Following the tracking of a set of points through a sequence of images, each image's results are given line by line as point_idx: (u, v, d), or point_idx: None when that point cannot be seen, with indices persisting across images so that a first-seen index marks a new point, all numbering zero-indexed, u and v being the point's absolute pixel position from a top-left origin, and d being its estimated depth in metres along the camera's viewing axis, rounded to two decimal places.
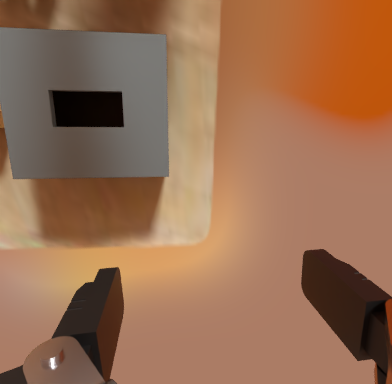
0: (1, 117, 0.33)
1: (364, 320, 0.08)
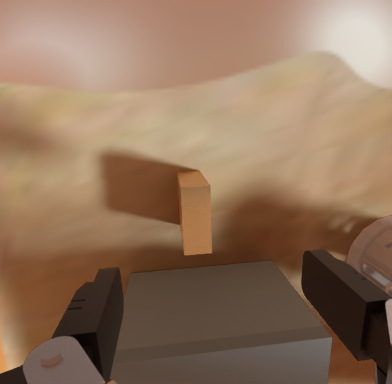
0: None
1: (364, 320, 0.08)
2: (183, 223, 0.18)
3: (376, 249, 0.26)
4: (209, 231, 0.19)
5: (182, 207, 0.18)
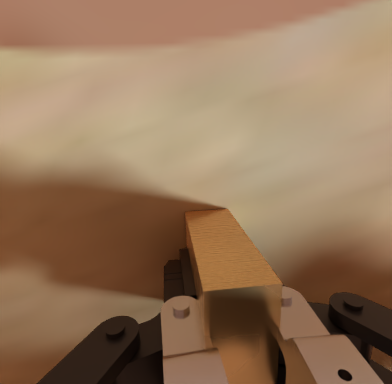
0: None
1: None
2: None
3: None
4: None
5: None
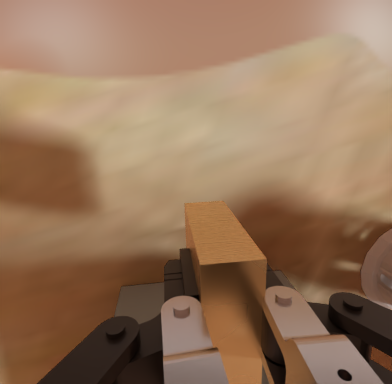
0: None
1: None
2: None
3: None
4: (259, 350, 0.09)
5: (202, 305, 0.08)
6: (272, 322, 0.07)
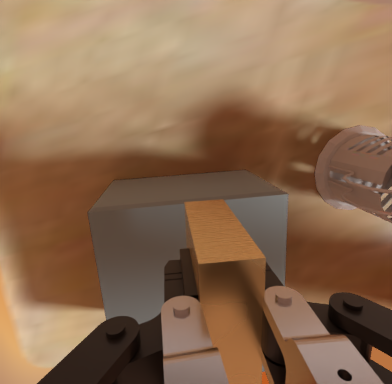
0: None
1: None
2: None
3: (340, 154, 0.28)
4: (258, 349, 0.09)
5: (201, 304, 0.08)
6: (272, 322, 0.07)
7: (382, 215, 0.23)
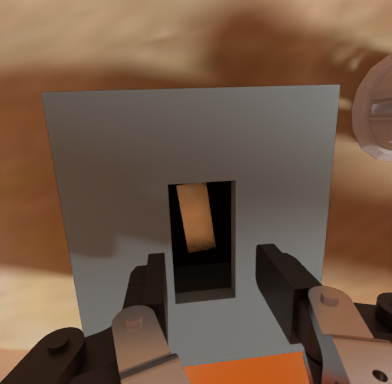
0: None
1: (293, 306, 0.09)
2: (183, 221, 0.18)
3: (388, 81, 0.22)
4: (210, 226, 0.19)
5: (180, 205, 0.18)
6: None
7: None
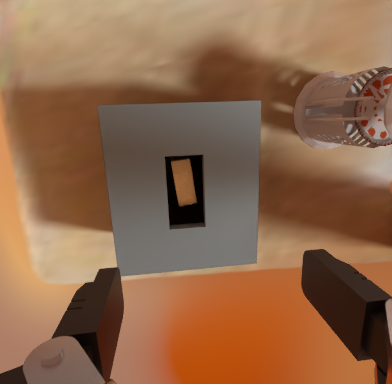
0: None
1: (364, 320, 0.08)
2: (175, 185, 0.29)
3: (314, 94, 0.32)
4: (193, 188, 0.29)
5: (173, 174, 0.28)
6: None
7: (345, 135, 0.28)
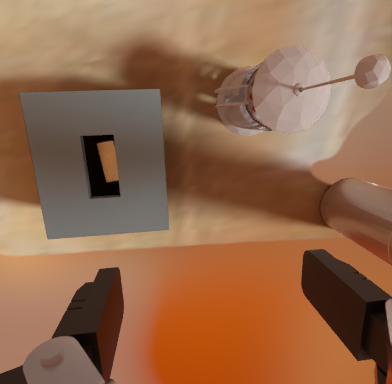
0: None
1: (364, 320, 0.08)
2: (102, 163, 0.33)
3: (230, 86, 0.37)
4: None
5: (100, 154, 0.33)
6: None
7: (244, 120, 0.32)
